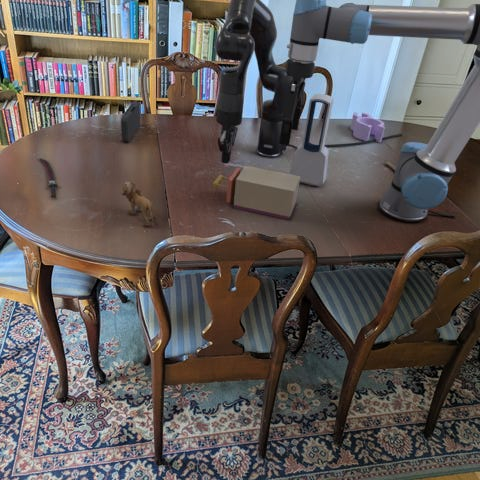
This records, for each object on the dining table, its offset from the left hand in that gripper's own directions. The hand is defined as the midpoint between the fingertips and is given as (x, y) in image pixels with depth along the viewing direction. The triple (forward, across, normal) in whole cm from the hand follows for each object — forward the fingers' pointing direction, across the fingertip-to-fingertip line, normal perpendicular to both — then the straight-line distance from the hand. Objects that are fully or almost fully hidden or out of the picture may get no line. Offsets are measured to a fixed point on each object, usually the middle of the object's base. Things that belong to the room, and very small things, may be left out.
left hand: (225, 161), depth 145 cm
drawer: (+11, 0, +8) cm, 14 cm away
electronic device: (+12, -24, +24) cm, 36 cm away
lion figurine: (+12, +23, -18) cm, 32 cm away
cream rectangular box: (+12, 0, +14) cm, 19 cm away
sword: (+12, +13, -56) cm, 59 cm away
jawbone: (+12, -51, +60) cm, 80 cm away
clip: (+12, -87, +41) cm, 97 cm away
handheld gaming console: (+12, -36, -51) cm, 64 cm away
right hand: (-12, 0, +18) cm, 22 cm away
